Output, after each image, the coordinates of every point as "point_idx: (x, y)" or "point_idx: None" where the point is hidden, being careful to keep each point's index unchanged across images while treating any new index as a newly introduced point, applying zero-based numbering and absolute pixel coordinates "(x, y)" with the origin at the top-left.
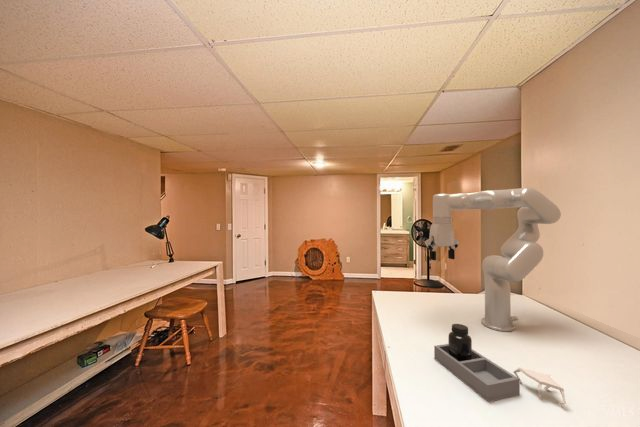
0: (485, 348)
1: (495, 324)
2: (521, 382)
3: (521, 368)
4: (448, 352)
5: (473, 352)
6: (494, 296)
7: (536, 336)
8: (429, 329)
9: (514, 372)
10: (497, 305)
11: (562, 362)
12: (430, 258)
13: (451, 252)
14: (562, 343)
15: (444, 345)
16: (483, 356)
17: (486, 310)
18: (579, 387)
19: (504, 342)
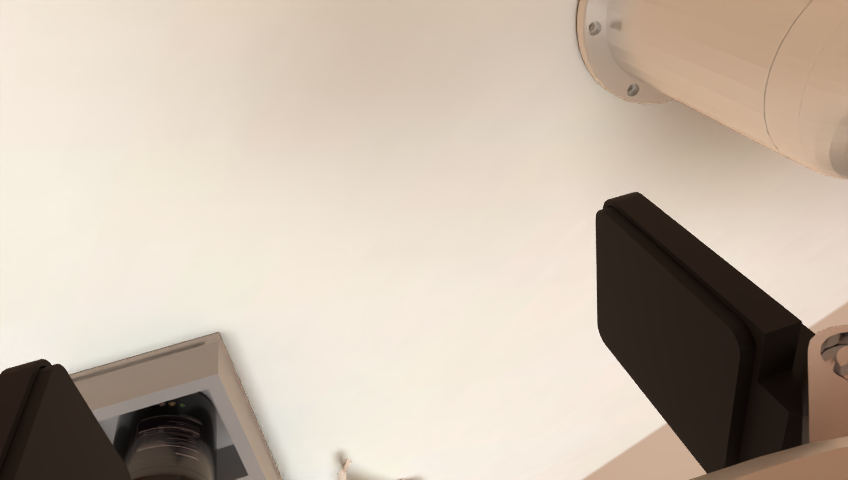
0: (380, 272)
1: (623, 64)
2: (345, 468)
3: None
4: (114, 437)
5: (233, 442)
6: (748, 126)
7: (728, 147)
8: (142, 51)
9: (339, 475)
10: (710, 114)
11: (600, 342)
12: (9, 392)
13: (690, 402)
14: (761, 209)
15: (107, 414)
16: (258, 468)
17: (659, 17)
18: (507, 453)
19: (519, 212)
